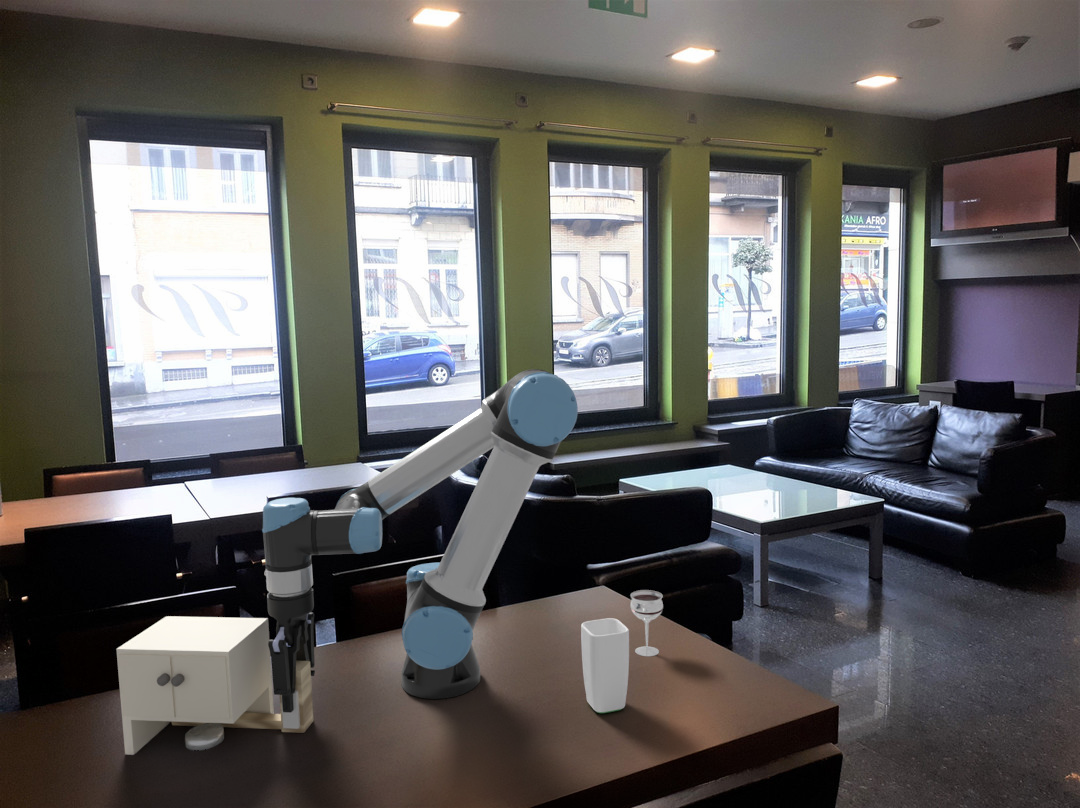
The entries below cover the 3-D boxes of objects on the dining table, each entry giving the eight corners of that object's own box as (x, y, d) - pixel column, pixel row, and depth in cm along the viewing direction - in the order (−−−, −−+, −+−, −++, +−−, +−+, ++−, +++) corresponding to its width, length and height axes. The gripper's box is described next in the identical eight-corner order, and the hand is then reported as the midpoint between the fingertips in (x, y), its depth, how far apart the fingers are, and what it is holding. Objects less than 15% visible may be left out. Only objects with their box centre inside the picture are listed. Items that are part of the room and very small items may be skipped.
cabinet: (273, 715, 140) (267, 618, 138) (231, 764, 125) (223, 655, 123) (173, 711, 142) (166, 616, 141) (119, 759, 127) (110, 652, 125)
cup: (632, 712, 139) (632, 631, 137) (594, 719, 136) (593, 637, 135) (616, 694, 146) (615, 616, 144) (579, 700, 143) (578, 622, 142)
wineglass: (640, 641, 169) (639, 587, 167) (669, 649, 165) (668, 593, 163) (624, 653, 163) (624, 597, 162) (653, 660, 159) (653, 603, 158)
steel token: (230, 733, 135) (230, 723, 135) (213, 752, 129) (212, 741, 129) (197, 732, 136) (196, 722, 135) (178, 751, 130) (177, 741, 130)
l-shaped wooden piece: (313, 720, 138) (310, 660, 137) (304, 732, 134) (300, 671, 133) (181, 715, 141) (177, 657, 140) (169, 727, 137) (164, 667, 136)
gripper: (290, 573, 143) (297, 695, 145) (244, 607, 126) (253, 746, 128) (330, 573, 142) (336, 697, 144) (289, 608, 125) (297, 747, 127)
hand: (297, 719), depth 136 cm, fingers closed on l-shaped wooden piece, 4 cm apart
